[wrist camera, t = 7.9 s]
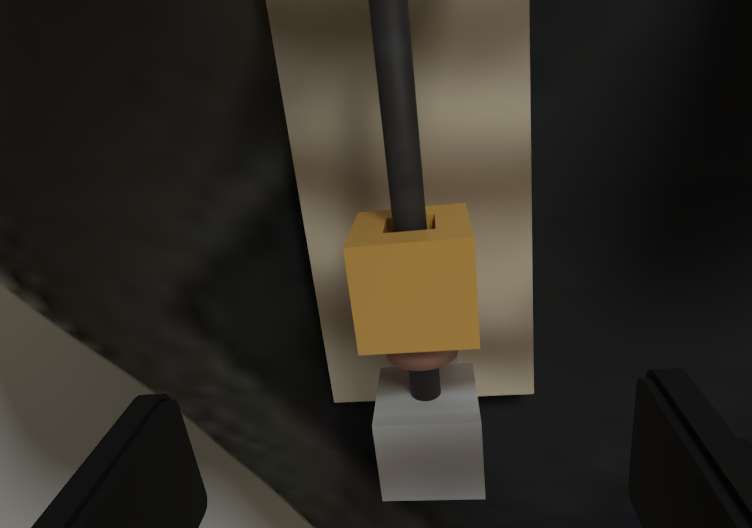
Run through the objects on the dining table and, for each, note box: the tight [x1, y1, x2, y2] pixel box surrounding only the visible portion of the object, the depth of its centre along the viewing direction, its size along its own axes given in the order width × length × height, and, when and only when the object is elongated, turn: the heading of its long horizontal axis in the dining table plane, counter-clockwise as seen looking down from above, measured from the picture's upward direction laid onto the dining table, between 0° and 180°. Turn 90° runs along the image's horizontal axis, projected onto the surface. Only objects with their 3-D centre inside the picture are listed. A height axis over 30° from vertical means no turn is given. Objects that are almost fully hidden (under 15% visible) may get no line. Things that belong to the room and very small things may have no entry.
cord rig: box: [266, 0, 534, 501], centre depth 20 cm, size 23×10×9 cm, turn 7°
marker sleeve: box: [343, 203, 480, 356], centre depth 20 cm, size 4×4×4 cm
